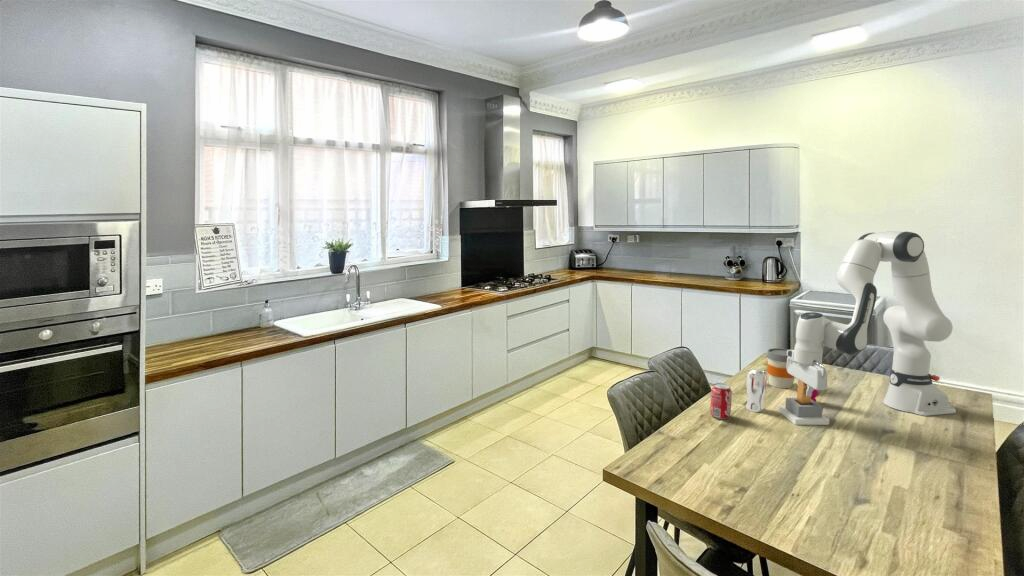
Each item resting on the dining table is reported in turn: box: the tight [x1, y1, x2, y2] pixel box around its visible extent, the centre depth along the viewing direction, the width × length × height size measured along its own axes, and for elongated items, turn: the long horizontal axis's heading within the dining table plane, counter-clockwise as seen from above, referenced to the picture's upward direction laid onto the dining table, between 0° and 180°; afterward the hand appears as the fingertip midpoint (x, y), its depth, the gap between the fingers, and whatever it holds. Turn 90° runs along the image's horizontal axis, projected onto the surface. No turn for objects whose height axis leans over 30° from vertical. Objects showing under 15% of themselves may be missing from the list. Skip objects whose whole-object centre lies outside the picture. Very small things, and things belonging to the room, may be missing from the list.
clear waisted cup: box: [745, 368, 768, 413], centre depth 188 cm, size 7×7×15 cm
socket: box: [777, 397, 830, 426], centre depth 181 cm, size 12×12×6 cm
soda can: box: [709, 382, 733, 420], centre depth 182 cm, size 7×7×12 cm
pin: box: [796, 380, 811, 404], centre depth 180 cm, size 3×3×10 cm
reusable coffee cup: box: [766, 347, 795, 389], centre depth 215 cm, size 13×13×15 cm
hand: (804, 393), depth 180 cm, fingers closed on pin, 3 cm apart
